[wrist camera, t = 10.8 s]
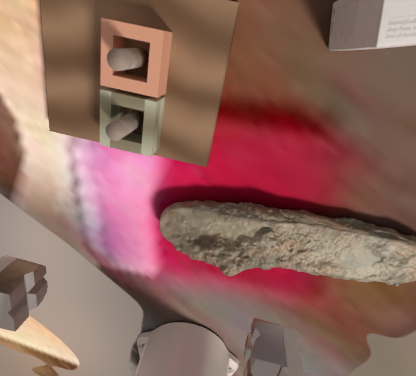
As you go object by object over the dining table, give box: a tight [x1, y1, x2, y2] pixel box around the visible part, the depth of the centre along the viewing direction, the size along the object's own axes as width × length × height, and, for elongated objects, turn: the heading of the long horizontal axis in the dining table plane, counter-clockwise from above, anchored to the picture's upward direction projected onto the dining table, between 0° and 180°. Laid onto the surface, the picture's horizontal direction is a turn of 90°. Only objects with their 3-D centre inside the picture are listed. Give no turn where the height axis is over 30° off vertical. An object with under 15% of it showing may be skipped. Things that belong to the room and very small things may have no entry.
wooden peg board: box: [40, 0, 240, 167], centre depth 29 cm, size 17×20×8 cm
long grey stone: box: [159, 200, 416, 286], centre depth 37 cm, size 35×5×10 cm
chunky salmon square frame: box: [100, 18, 173, 98], centre depth 29 cm, size 6×6×3 cm
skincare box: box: [329, 0, 416, 51], centre depth 22 cm, size 6×4×12 cm
